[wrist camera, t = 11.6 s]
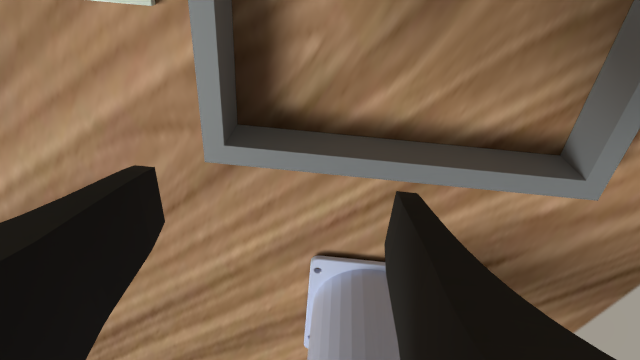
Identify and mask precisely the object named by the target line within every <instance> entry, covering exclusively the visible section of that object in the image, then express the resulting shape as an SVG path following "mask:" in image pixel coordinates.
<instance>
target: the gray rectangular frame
mask: <svg viewBox="0 0 640 360" xmlns="http://www.w3.org/2000/svg"><path fill="white" fill-rule="evenodd" d="M188 4H189V14H190V23H191V33H192V42H193V52H194V62H195V71H196V81H197V91H198V100H199V110H200V119H201V129H202V139H203V148H204V158H205V162H211V163H221V164H231V165H241V166H251V167H262V168H272V169H282V170H292V171H302V172H312V173H323V174H333V175H343V176H353V177H363V178H373V179H384V180H394V181H404V182H414V183H424V184H435V185H445V186H455V187H465V188H475V189H485V190H496V191H506V192H516V193H526V194H536V195H546V196H557V197H567V198H577V199H587V200H597V201H598V199H599V197H600V196H601V194H602V192H603V191H604V189H605V187H606V185H607V184H608V182H609V180H610V178H611V177H612V175H613V173H614V172H615V170H616V168H617V166H618V165H619V163H620V161H621V159H622V158H623V156H624V154H625V153H626V151H627V149H628V147H629V146H630V144H631V142H632V141H633V139H634V137H635V135H636V134H637V132H638V130H639V128H640V0H634V1H633V3H632V6H631V8H630V10H629V12H628V14H627V16H626V18H625V20H624V22H623V24H622V27H621V29H620V31H619V33H618V35H617V37H616V39H615V41H614V43H613V46H612V48H611V50H610V52H609V54H608V56H607V58H606V60H605V62H604V64H603V67H602V69H601V71H600V73H599V75H598V77H597V79H596V81H595V83H594V85H593V88H592V90H591V92H590V94H589V96H588V98H587V100H586V102H585V104H584V106H583V109H582V111H581V113H580V115H579V117H578V119H577V121H576V123H575V125H574V127H573V130H572V132H571V134H570V136H569V138H568V140H567V142H566V144H565V146H564V148H563V151H562V153H561V155H560V156H559V155H548V154H538V153H528V152H517V151H507V150H497V149H486V148H476V147H466V146H455V145H445V144H434V143H424V142H414V141H403V140H393V139H383V138H372V137H362V136H352V135H341V134H331V133H320V132H310V131H300V130H289V129H279V128H269V127H258V126H248V125H238V124H237V104H236V83H235V62H234V41H233V20H232V0H188Z"/></svg>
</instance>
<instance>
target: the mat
mask: <svg viewBox="0 0 640 360" xmlns="http://www.w3.org/2000/svg"><path fill="white" fill-rule="evenodd" d="M93 1H104V2H115V3H126V4H136V5H147V6H153V5H155V0H93Z"/></svg>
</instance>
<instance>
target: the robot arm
mask: <svg viewBox="0 0 640 360" xmlns="http://www.w3.org/2000/svg"><path fill="white" fill-rule="evenodd" d="M164 223H165V219H164V214H163V209H162V203H161V198H160V193H159V188H158V182H157V177H156V172H155V167H146V166H136V165H134V166H131V167H129V168H126V169H123V170H121V171H119V172H116V173H114V174H112V175H110V176H108V177H105V178H103V179H101V180H99V181H97V182H95V183H93V184H90V185H88V186H86V187H84V188H82V189H80V190H78V191H75V192H73V193H71V194H69V195H67V196H65V197H62V198H60V199H58V200H55V201H53V202H51V203H48V204H46V205H44V206H41V207H39V208H37V209H34V210H32V211H30V212H27V213H25V214H22V215H20V216H17V217H15V218H12V219H9V220H7V221H4V222H1V223H0V360H86V358H87V356H88V354H89V352H90V350H91V348H92V346H93V345H94V343H95V341H96V339H97V337H98V335H99V333H100V331H101V329H102V327H103V325H104V324H105V322H106V320H107V319H108V317H109V315H110V314H111V312H112V311H113V309H114V308H115V306H116V305H117V303H118V301H119V300H120V298H121V297H122V295H123V294H124V292H125V291H126V289H127V288H128V286H129V285H130V283H131V282H132V280H133V279H134V277H135V276H136V274H137V273H138V271H139V269H140V268H141V266H142V265H143V263H144V262H145V260H146V259H147V257H148V255H149V254H150V252H151V251H152V249H153V247H154V245H155V243H156V241H157V238H158V236H159V234H160V232H161V230H162V227H163V225H164ZM316 268H320V269H316ZM304 346H305V347H306V348H308V358H307V360H616V359H614V358H613V357H611V356H609V355H607V354H606V353H604V352H602V351H600V350H599V349H597V348H596V347H594V346H593V345H591V344H589V343H588V342H586V341H585V340H583V339H581V338H580V337H578V336H577V335H575V334H573V333H572V332H570V331H569V330H567V329H566V328H564V327H563V326H561V325H560V324H558V323H557V322H555V321H554V320H552V319H551V318H549V317H548V316H547V315H545V314H544V313H542V312H541V311H540V310H538V309H537V308H536V307H534V306H533V305H531V304H530V303H529V302H527V301H526V300H525V299H523V298H522V297H521V296H519V295H518V294H517V293H516V292H514V291H513V290H512V289H510V288H509V287H508V286H507V285H506V284H505V283H503V282H502V281H501V280H500V279H499V278H497V277H496V276H495V275H494V274H493V273H491V272H490V271H489V270H488V269H487V268H486V267H485V266H484V265H483V264H481V263H480V262H479V261H478V260H477V259H476V258H475V257H474V256H473V255H472V254H471V253H470V252H469V251H468V250H467V249H466V248H465V247H464V246H463V245H462V244H461V243H460V242H459V241H458V240H457V239H456V237H455V236H454V235H453V234H452V233H451V232H450V231H449V230H448V229H447V228H446V226H445V225H444V224H443V223H442V222H441V221H440V220H439V218H438V217H437V216H436V215H435V214H434V213H433V211H432V210H431V209H430V208H429V207H428V205H427V204H426V203H425V202H424V201H423V199H422V198H421V197H420V196H419V195H418V194H417V193H409V192H399V191H396V195H395V200H394V204H393V209H392V213H391V218H390V222H389V227H388V231H387V236H386V240H385V262H378V261H368V260H358V259H349V258H339V257H329V256H314V257H313V258H312V259H311V265H310V277H309V289H308V301H307V313H306V325H305V337H304Z"/></svg>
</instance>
